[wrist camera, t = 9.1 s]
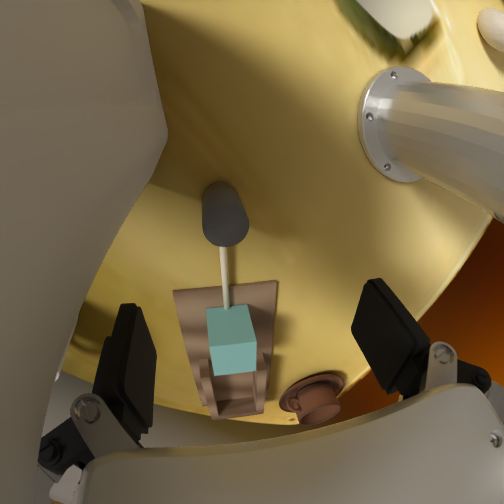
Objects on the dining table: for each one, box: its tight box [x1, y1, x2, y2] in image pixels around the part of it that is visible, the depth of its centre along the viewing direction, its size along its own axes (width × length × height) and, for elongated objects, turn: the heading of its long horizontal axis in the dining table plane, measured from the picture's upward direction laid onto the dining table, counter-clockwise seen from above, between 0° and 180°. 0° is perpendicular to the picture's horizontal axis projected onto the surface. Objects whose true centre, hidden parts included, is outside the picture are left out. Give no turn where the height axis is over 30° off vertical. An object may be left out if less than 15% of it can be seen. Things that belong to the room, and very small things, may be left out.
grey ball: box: [477, 8, 504, 52], centre depth 13 cm, size 7×7×7 cm
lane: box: [173, 280, 277, 420], centre depth 34 cm, size 25×11×3 cm, turn 0°
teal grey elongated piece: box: [202, 182, 257, 376], centre depth 25 cm, size 19×4×6 cm, turn 0°
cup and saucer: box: [279, 374, 344, 425], centre depth 41 cm, size 12×12×6 cm
